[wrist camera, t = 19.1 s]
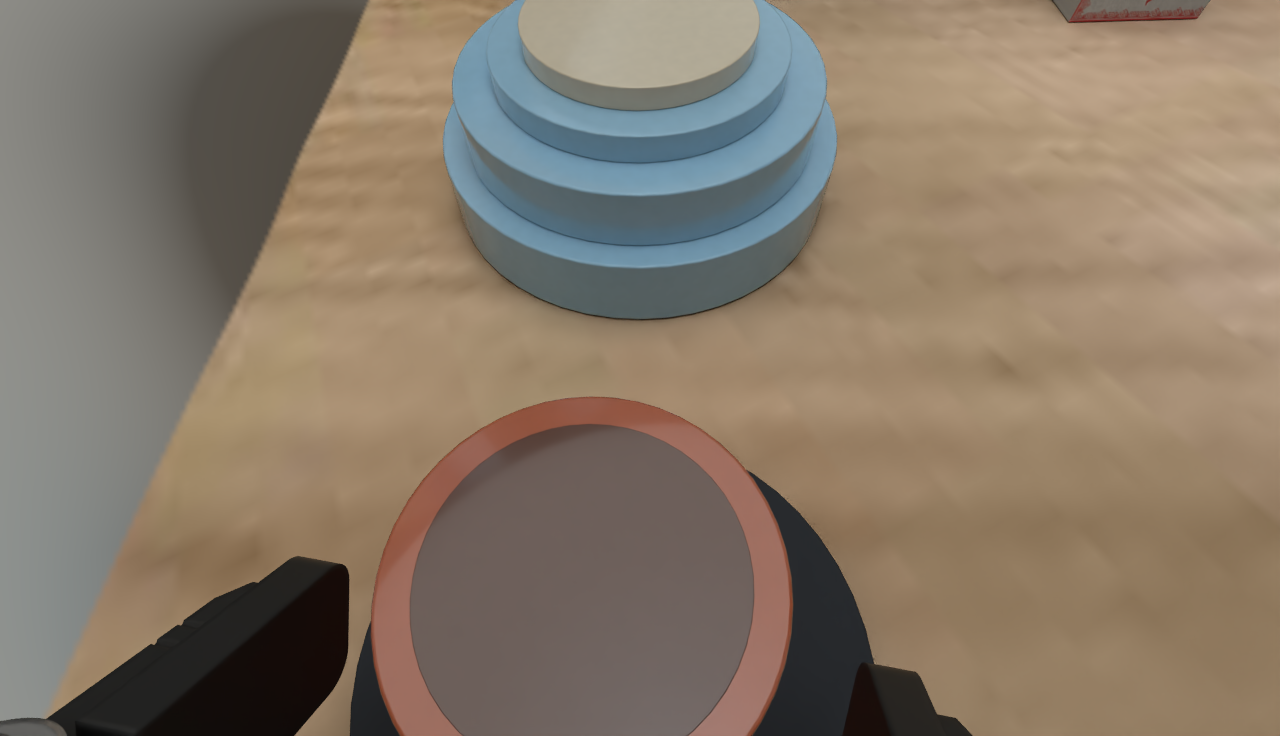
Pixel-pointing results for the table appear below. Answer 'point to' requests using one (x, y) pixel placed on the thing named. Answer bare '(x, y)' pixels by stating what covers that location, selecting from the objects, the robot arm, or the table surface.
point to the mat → (816, 661)
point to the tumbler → (583, 583)
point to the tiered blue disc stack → (639, 150)
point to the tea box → (1129, 9)
